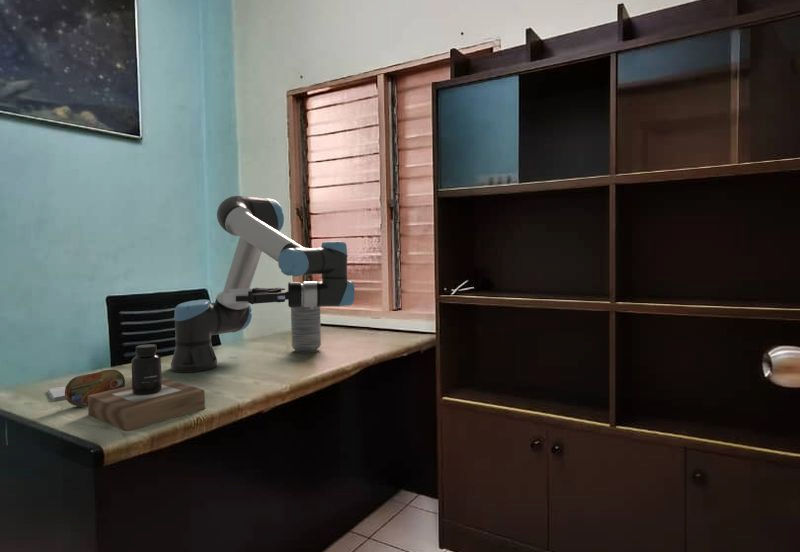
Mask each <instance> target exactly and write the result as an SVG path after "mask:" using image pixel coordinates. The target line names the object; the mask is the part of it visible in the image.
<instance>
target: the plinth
mask: <svg viewBox="0 0 800 552" xmlns="http://www.w3.org/2000/svg"><path fill="white" fill-rule="evenodd" d="M161 380H162V388H161V390H160V391H159V392H157V393H154V394H148V395H136V394H134V393H133V392H132V385H128V386H124V387H123V388H119V389H114V390H110V391H105V392H101V393H96V394H92V395H88V406H87V410H88V411H87V413H88V414H87V415H88V416H91V417H93V418H95V419H97V420H99V421H102V422H104V423H106V424H108V425H112V426H114V427H115V428H118V429H121V430H122V431H125V432H129V431H133V430H135V429H138V428H139V429H140V428H142V427H146V426H150V425H152V424H156V423H159V422H162V421H166V420H170V419H173V418H177V417H180V416H183V415H184V416H185V415H187V414H191V413H194V412H198V411H200V410H204V409H206V404H205V403H206V400H205V399H206V398H205V397H206V396H205V389H203V388H201V387H196V386H194V385H189V384H186V383H183V382H178V381H175V380H171V379H168V378H161Z"/></svg>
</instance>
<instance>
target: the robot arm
mask: <svg viewBox="0 0 800 552" xmlns="http://www.w3.org/2000/svg"><path fill="white" fill-rule="evenodd" d="M216 219H217V221H218V223H219V226H220V227H221V229H223V230H224V231H225V232H226V233H228V234H229V235H232V236H234V237H239V239H238V241H237V244H236V248H235V251H234V254H233V258H232V261H231V264H230V268H229V270H228V273H227V277H226V281H225V284H224V286H223V290H222V291H220V292H218V294H217V295H216V298H215V301H214V302H210V300H209V299H197V300H189V301H184V302H182V303H179V304H177V305H176V306H175V308H174V315H173V320H174V333H175V334H174V336H175V337H174V338H175V349H174V352H173V354H172V357H171V362H170V371H172V372H174V373H197V372H198V373H199V372H204V371H209V370H212V369H215V368H217V366H218V359H217V356H216V353H215V350H214V348H213V345H212V336H215V335H216V336H217V335H222V334H223V335H224V334H229V333H236V332H241V331H243V330H245V329H246V328H248V326H249V325H250V323H251V321H252V318H253V317H252V316H253V313H252V307H251V305H256V304H266V303H267V304H269V303H284V302H286V301H288V302H287V303H288V304H287V305H288V307H289V308H291V307H301V305H303V306H304V307H310V309H313V306H315V307H320V308H321V307H329V308H330V307H331V308H333V307H337V308H338V307H346V306H347V307H349V306H351V305H353V304H354V302H355V294H356V290H355V283H354V282H353V281H351V280H348V256H349V255H348V249H347V243H346V242H344V241H323V242H321V246H320V247H312V248H311V247H310V248H309V247H304V246H302V245H301V244H299V243H297V242H296V241H295V240H293V239H291V238H289V237H288V236H286V235H284V234H283V233H281V232H280V231H281V230H282V228H283V227H284V224H285V223H284V222H285V216H284V211H283V208H282V206H281V204H280V203H279V202H278V201H277V200H275V199H273V198H267V197H258V196H244V195H243V196H242V195H234V196H230V197H227V198H225V199H224V200H223V201H221V203H220V204H219V206H218V208H217V211H216ZM262 253H264V254H266V255H267V256H268V257H271V258H272V259H273V260H274V261H276V262H277V264H278V265H277V266H278V268H279V269H280V271H281V273H282V274H283V275H285V276H287V277H289V276H291V277H292V276H293V277H300V276H310V275H321V279H322V280H321V281H313V280H312V281H303V282H302V283H301V282H300V281H289V282H288V284H287V289H286V288H284V287H283V288H282V287H271V288H267V287H265V288H264V287H253V288H251V286H252V284H253V283H252V282H253V280H254V277H255V273H256V271H257V268H258V265H259V262H260V259H261V255H262Z"/></svg>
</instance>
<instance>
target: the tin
mask: <svg viewBox="0 0 800 552" xmlns="http://www.w3.org/2000/svg"><path fill="white" fill-rule="evenodd" d="M125 385H126V380H125V376H124V375H123V373H121V371H119V370H116V369H103V370H99V371H94V372H91V373H86V374H82V375H78V376H75V377H73V378H71V380H69V382H68V383H67V384H66V385H65V386H66V388H65V397H66V401H67V403H69V404H70V405H72V406H74V407H75V406H76V407H78V408H86V407H88V395H92V394H96V393H101V392H105V391H110V390H114V389H119V388H123V387H126V386H125Z"/></svg>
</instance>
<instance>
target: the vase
mask: <svg viewBox="0 0 800 552" xmlns="http://www.w3.org/2000/svg"><path fill="white" fill-rule="evenodd" d="M290 329H291V347H292V349H293V350H295V353H298V354H311V353H316V352H317V351H318V349H319V348H320V347H321V345H322V336H321V335H322V334H321V333H322V332H321V307H315V306H313V309H310V307H304V306H303V305H301V307H290Z"/></svg>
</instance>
